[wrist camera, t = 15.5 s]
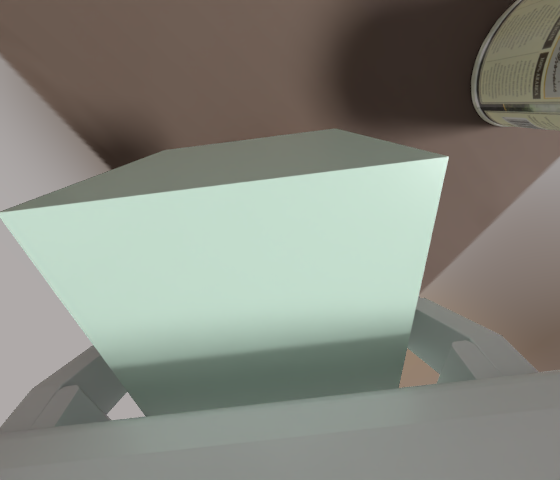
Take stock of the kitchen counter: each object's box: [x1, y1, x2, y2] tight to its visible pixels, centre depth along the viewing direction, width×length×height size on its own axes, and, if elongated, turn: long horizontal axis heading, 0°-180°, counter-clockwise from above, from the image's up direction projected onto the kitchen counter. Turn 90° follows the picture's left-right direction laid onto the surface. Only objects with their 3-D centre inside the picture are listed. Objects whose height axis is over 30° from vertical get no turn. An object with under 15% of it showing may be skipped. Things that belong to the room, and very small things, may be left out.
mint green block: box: [0, 128, 449, 417], centre depth 9 cm, size 11×7×7 cm
